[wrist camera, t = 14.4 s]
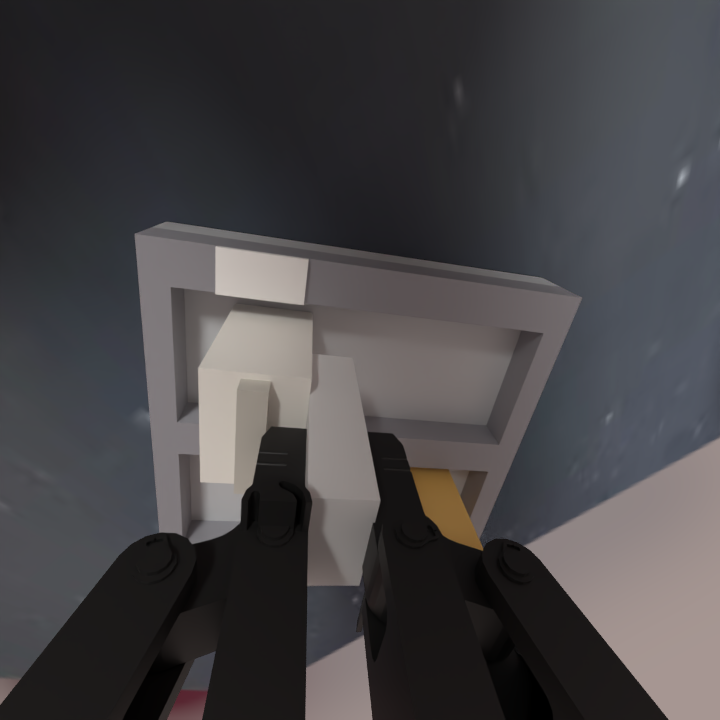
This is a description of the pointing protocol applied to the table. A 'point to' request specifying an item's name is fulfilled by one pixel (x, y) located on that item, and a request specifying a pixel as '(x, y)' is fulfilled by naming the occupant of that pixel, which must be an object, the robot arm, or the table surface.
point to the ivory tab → (251, 388)
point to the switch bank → (350, 353)
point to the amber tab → (445, 505)
